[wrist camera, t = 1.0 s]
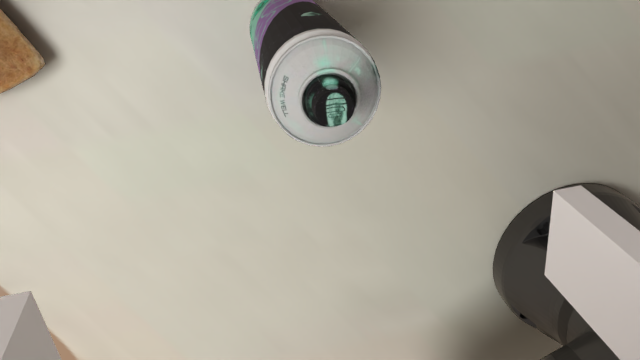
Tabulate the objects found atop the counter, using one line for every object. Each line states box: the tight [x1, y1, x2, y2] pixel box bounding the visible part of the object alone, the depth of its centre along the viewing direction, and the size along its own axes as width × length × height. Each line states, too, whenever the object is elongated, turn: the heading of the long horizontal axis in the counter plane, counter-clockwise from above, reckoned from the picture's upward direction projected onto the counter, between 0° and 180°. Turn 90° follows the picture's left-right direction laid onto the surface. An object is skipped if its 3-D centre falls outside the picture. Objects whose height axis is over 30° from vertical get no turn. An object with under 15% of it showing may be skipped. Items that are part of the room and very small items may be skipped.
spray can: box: [250, 0, 381, 147], centre depth 33 cm, size 6×6×20 cm
